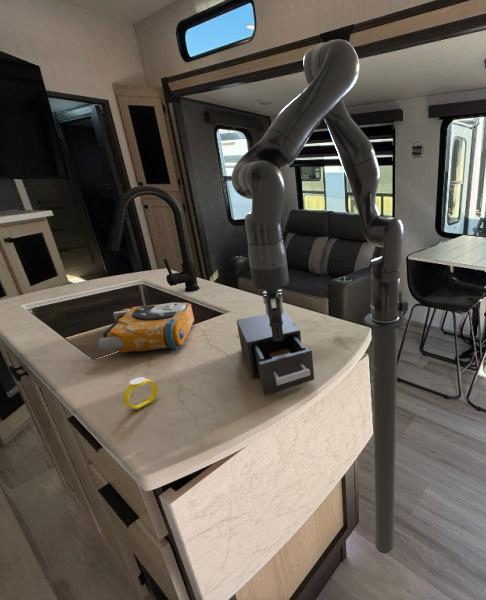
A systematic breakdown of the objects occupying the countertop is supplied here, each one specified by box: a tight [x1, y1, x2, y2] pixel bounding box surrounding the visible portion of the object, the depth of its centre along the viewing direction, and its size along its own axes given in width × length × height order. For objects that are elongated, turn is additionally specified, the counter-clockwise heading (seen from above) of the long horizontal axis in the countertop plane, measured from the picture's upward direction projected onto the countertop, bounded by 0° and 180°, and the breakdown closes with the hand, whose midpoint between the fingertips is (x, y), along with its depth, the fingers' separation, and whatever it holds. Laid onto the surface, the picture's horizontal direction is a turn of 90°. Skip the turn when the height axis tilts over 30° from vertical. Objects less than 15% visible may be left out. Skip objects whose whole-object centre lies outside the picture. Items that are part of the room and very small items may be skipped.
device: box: [97, 302, 195, 353], centre depth 96 cm, size 23×8×30 cm
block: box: [269, 349, 291, 359], centre depth 75 cm, size 4×4×4 cm
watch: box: [122, 376, 159, 410], centre depth 67 cm, size 6×3×6 cm, turn 158°
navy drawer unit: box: [236, 310, 302, 378], centre depth 85 cm, size 16×13×10 cm
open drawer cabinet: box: [251, 334, 315, 396], centre depth 75 cm, size 19×11×8 cm, turn 32°
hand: (277, 332), depth 73 cm, fingers open, 8 cm apart
